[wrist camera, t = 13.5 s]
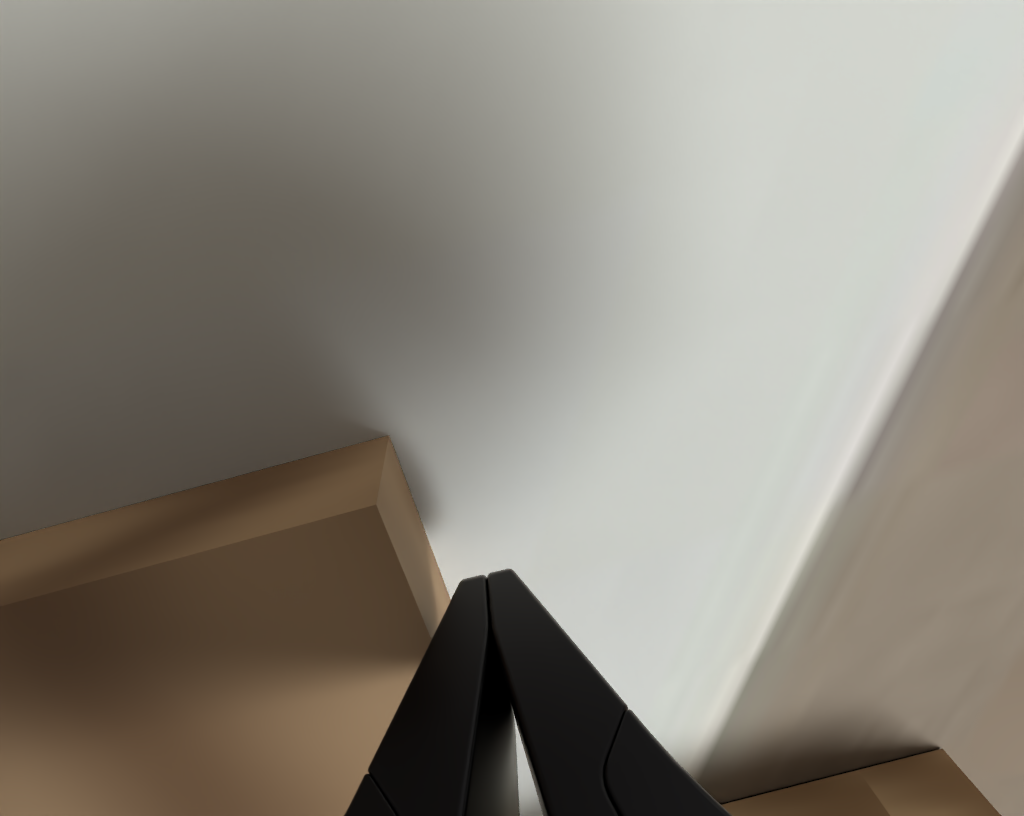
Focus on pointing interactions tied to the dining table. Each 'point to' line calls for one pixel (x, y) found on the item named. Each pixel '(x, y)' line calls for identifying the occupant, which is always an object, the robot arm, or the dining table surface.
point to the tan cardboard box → (216, 644)
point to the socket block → (878, 793)
